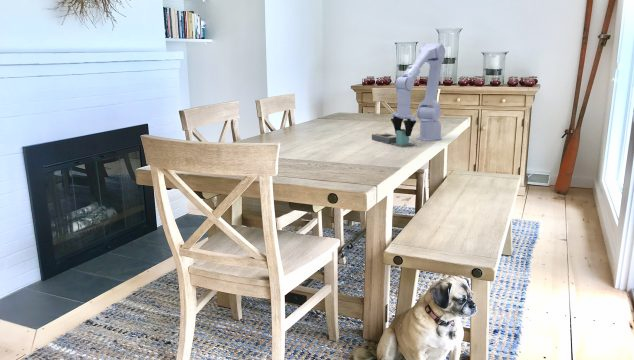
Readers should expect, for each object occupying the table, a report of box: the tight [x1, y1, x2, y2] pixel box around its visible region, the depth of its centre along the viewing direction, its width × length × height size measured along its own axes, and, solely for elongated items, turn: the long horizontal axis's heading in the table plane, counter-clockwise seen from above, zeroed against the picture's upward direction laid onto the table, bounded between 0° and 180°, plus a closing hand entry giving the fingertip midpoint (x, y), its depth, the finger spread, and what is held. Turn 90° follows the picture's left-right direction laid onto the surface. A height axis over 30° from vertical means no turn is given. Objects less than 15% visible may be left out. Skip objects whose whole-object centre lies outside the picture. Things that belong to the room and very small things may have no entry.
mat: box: [389, 142, 416, 148], centre depth 236 cm, size 8×8×1 cm
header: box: [371, 132, 396, 145], centre depth 246 cm, size 8×14×3 cm, turn 28°
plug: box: [395, 128, 410, 145], centre depth 235 cm, size 4×4×7 cm
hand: (403, 135), depth 235 cm, fingers open, 7 cm apart
